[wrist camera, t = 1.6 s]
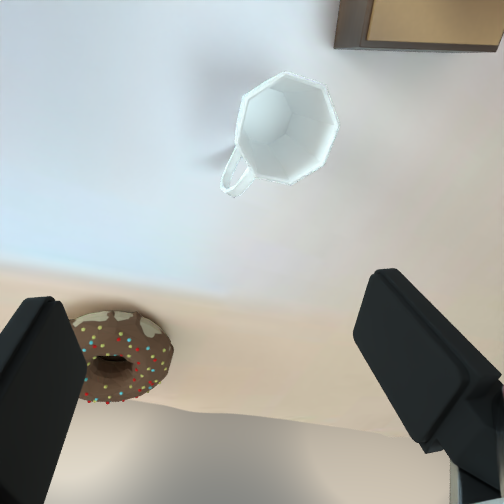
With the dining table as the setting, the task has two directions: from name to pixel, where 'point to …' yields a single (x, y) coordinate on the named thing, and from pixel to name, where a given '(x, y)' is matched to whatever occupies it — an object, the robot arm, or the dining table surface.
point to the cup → (282, 132)
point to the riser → (420, 25)
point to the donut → (123, 344)
